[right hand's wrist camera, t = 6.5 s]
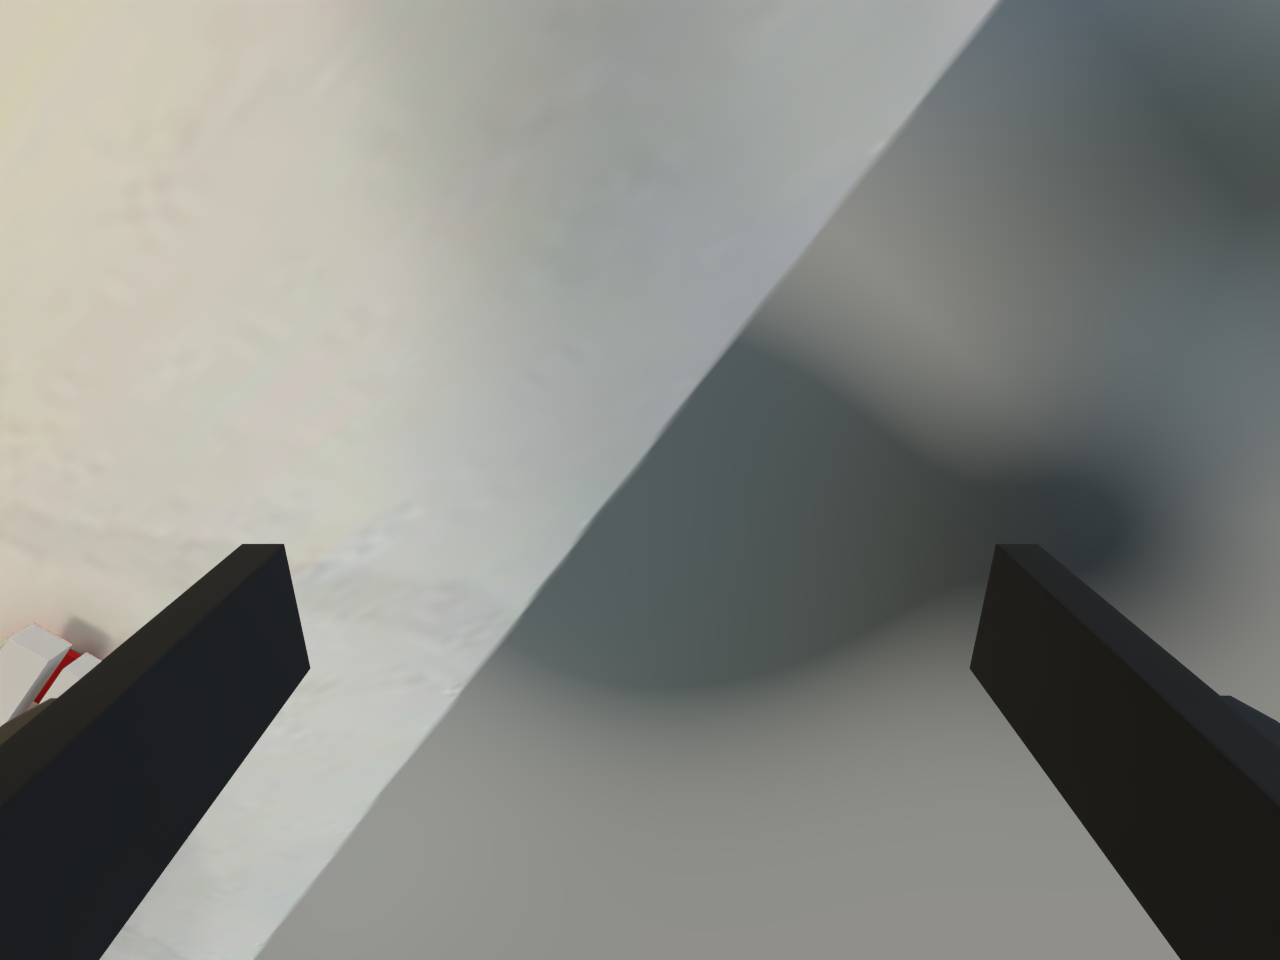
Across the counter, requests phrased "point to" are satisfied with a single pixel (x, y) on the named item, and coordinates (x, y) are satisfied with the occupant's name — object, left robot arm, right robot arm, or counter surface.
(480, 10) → the counter surface
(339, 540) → the counter surface
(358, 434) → the counter surface
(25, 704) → the toy
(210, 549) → the counter surface
